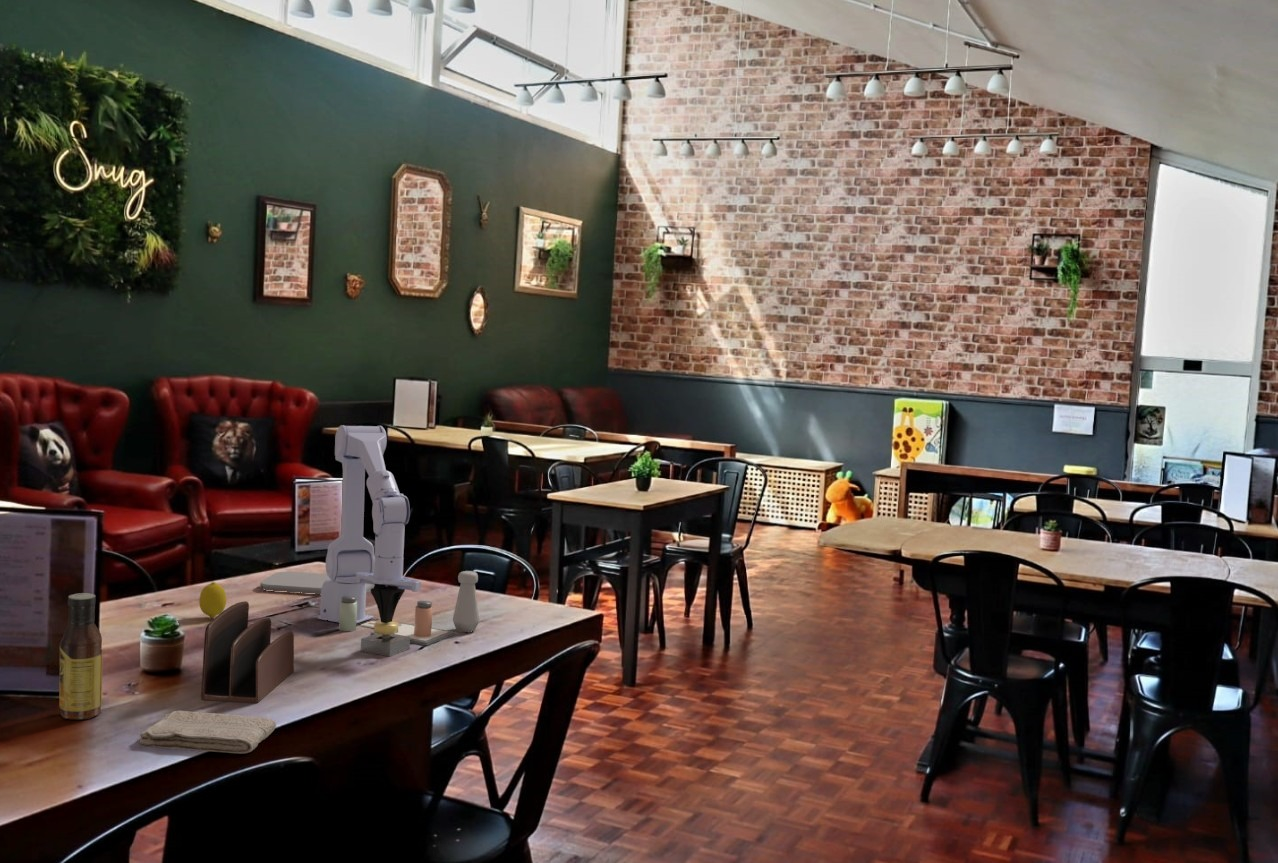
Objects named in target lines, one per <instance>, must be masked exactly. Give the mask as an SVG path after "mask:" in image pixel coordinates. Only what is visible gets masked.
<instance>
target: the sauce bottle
mask: <svg viewBox="0 0 1278 863" xmlns="http://www.w3.org/2000/svg"><path fill="white" fill-rule="evenodd" d="M96 598H97V597H96V594H94V593H89V592H86V593H85V592H81V593H74V594H69V595H68V597H67V606H68V619H67V621H68V622H67V625H66V628H65V630H64V633H63V634H62V635H63V636H62V638H61V641H60V643H59V679H58V680H59V687H58V690H59V693H58V694H59V696H58V697H59V698H58V699H59V703H58V706H59V707H58V708H60V712H59V713H60V715H61V717H62V718H63V719H65V720H67V719H68V720H75V721H77V720H80V721H81V720H89V719H91V718H94V717H96V716H98V715H100V713H101V710H102V702H103V649H102V648H103V646H102V645H103V643H102V642H103V637H102V633H101V631H100V630H99V628H98V627H97V625H96V624H95V605H96Z"/></svg>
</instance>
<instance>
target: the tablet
mask: <svg viewBox="0 0 1278 863" xmlns="http://www.w3.org/2000/svg"><path fill="white" fill-rule="evenodd" d="M328 578H329V577H328V576H327V573H319V572H318V573H317V572H315V573H314V572H301V571H278V572H275V573H274V574H272V575H270V576H267V577H266V578H264V579H262V580H260V582H259V583H260V584H259V585H260V586H261V587H262V590H263V589H265V590H273V591H287V592H300V593H301V592H302V593H315V594H321V589H322V586H323V583H324V582H325V581H326V580H327V579H328ZM374 586H375V585H373V584H367V583H366V594H367V593H368V592H371V589H372V588H374Z"/></svg>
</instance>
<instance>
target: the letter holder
mask: <svg viewBox="0 0 1278 863" xmlns="http://www.w3.org/2000/svg"><path fill="white" fill-rule="evenodd" d="M249 611H250V604H249V602H248V601H247V600H246V601H245V600H244V601H239V602H237V603H235V604H233V605H230V606H229V607H227V608H226V609H224V610H223V611H222V612H221V613H220V614H218V615H216V616H215V617H214V618H212V620H211V621H210V622H209V623H208V624H207V625H206V627H205V630H204V639H203V642H204V643H203V654H202V655H203V656H202V671H201V672H202V673H201V676H202V679H201V693H200V694H201V695H200V699H201V700H202V701H212V702H213V701H214V702H229V703H242V704H243V703H244V704H246V703H247V704H259V702H261V701H262V700H263V699H264V698H265V697H267V696H268V695H269V694H270V693H271V692H272V691H274V689H276V688H277V686H278V685H280V684H281V683H283V681H285V680H286V678H288V677H289V676H290V675H291V674H292V673H294V671H295V649H294V648H295V645H294V644H295V635H294V632H293V631H288V632H285V633H283V634H281V635H280V636H278V637H277V638H275V639H274V640H272V641H271V638H272V637H271V635H272V634H271V632H272V620H271V618H270V617H266V618H261V619H259V620H257V621H256V622H253V623H252V624H250V625H249V614H250V613H249ZM248 625H249V626H248Z"/></svg>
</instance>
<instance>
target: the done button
mask: <svg viewBox="0 0 1278 863" xmlns="http://www.w3.org/2000/svg"><path fill="white" fill-rule="evenodd" d="M375 622H376V623H374V628H373V632H375V633H377V634H382V640H390V634H395V633H398V623H399V622H396V621H393V620H392V622H389V623H382V622H381V620H380V621H375Z"/></svg>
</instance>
